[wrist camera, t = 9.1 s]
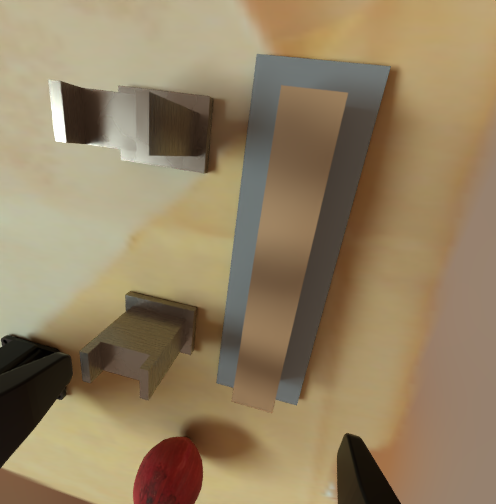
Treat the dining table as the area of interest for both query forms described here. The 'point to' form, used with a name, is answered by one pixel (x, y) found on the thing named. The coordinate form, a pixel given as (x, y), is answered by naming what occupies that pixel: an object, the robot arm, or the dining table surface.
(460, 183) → the dining table surface
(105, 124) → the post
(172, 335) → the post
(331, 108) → the rail
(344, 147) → the mat
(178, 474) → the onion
